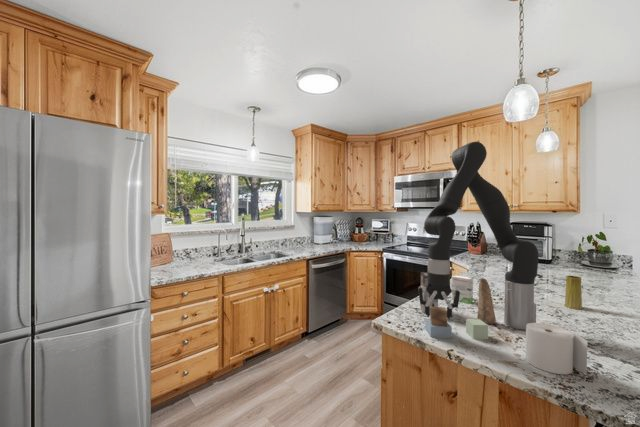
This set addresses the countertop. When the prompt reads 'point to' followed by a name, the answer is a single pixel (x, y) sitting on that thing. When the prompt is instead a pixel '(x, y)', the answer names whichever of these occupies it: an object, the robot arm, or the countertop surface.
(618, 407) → the countertop surface
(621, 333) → the countertop surface
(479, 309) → the tan long rounded piece
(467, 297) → the ink box
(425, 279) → the coffee box
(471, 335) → the sage cube
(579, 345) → the toilet tissue
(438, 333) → the base block
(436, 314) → the walnut cube
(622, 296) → the countertop surface
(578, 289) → the vase
